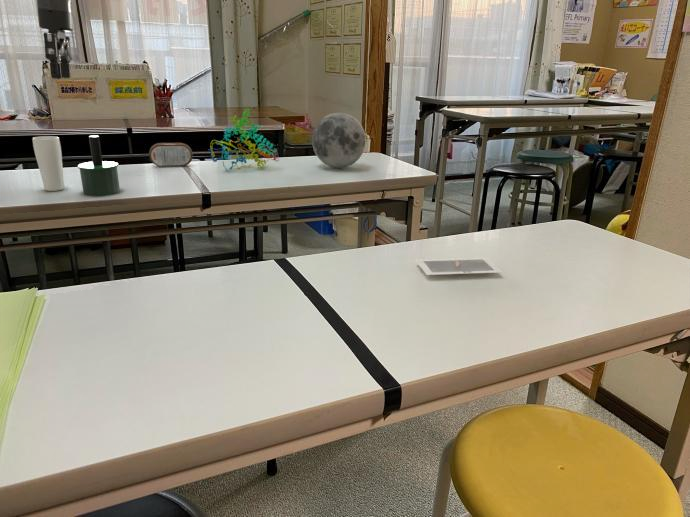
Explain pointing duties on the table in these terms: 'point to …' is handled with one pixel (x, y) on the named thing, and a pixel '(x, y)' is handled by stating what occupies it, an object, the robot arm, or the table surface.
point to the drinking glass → (49, 161)
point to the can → (100, 182)
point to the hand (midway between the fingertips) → (61, 78)
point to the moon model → (338, 140)
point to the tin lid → (96, 157)
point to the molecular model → (245, 143)
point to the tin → (170, 154)
